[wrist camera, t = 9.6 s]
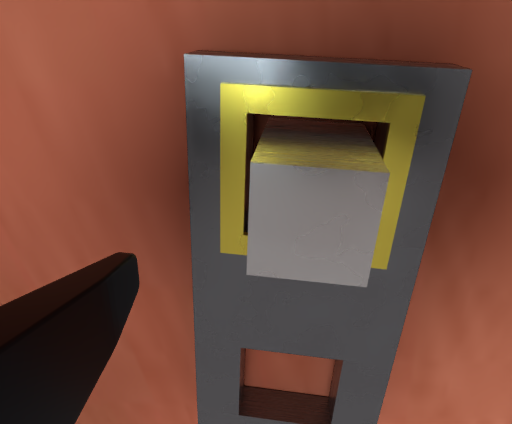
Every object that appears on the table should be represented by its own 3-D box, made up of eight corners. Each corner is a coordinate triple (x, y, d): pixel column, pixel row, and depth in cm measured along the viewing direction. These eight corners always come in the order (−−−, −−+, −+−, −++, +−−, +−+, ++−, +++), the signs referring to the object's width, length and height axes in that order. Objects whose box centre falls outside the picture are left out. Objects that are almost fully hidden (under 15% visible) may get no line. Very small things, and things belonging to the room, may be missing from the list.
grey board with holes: (206, 401, 25) (197, 435, 23) (197, 50, 16) (181, 54, 14) (364, 423, 24) (369, 460, 22) (453, 63, 15) (475, 70, 13)
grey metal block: (264, 201, 19) (246, 274, 13) (269, 117, 17) (250, 162, 11) (349, 209, 18) (366, 287, 13) (363, 123, 16) (389, 173, 11)
